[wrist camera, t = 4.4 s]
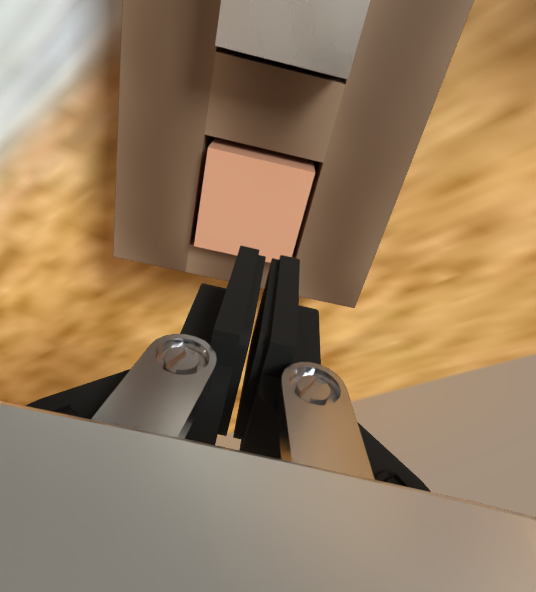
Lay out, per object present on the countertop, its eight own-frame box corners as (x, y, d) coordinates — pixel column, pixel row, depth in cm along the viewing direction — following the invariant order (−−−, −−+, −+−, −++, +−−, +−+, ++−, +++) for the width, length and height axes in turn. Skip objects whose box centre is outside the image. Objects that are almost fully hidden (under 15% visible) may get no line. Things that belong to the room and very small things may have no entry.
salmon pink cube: (311, 150, 21) (315, 172, 17) (289, 232, 23) (289, 266, 20) (221, 128, 21) (208, 147, 17) (208, 214, 23) (193, 246, 19)
